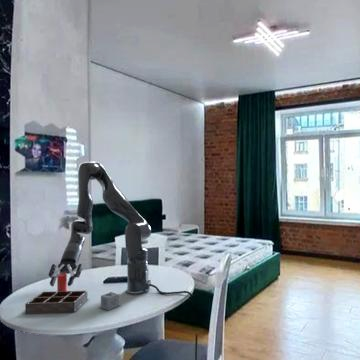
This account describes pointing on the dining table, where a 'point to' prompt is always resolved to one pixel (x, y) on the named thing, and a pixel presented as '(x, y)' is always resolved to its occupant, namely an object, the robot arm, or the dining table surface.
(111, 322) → the dining table surface
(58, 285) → the red cylinder
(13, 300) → the dining table surface
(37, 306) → the grid
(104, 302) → the dice cube
